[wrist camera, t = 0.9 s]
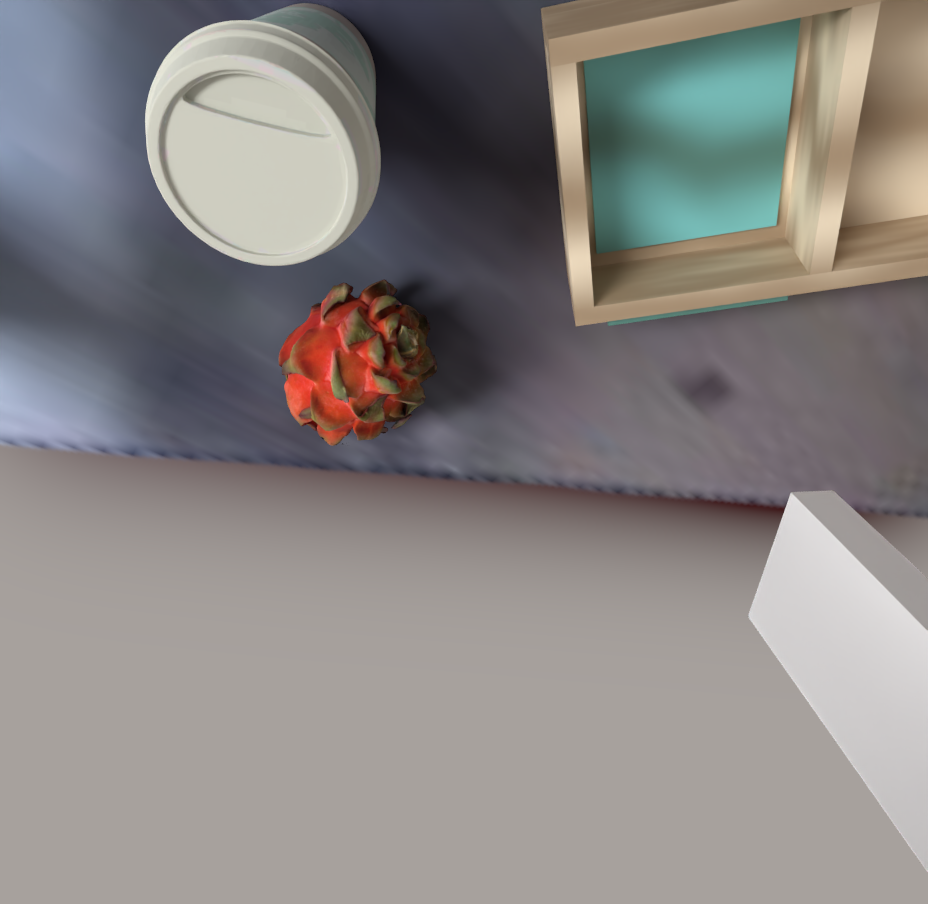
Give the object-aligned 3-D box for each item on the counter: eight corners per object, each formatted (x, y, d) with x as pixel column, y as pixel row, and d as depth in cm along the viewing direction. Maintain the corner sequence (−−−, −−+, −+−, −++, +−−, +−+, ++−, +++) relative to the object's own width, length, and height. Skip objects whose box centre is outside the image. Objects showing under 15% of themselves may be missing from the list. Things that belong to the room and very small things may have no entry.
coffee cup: (441, 76, 34) (424, 175, 25) (330, 196, 38) (281, 317, 29) (297, -85, 30) (215, -33, 21) (189, 69, 34) (84, 167, 25)
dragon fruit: (425, 242, 41) (350, 366, 50) (293, 236, 36) (233, 376, 44) (490, 359, 38) (398, 468, 47) (357, 371, 33) (280, 492, 42)
